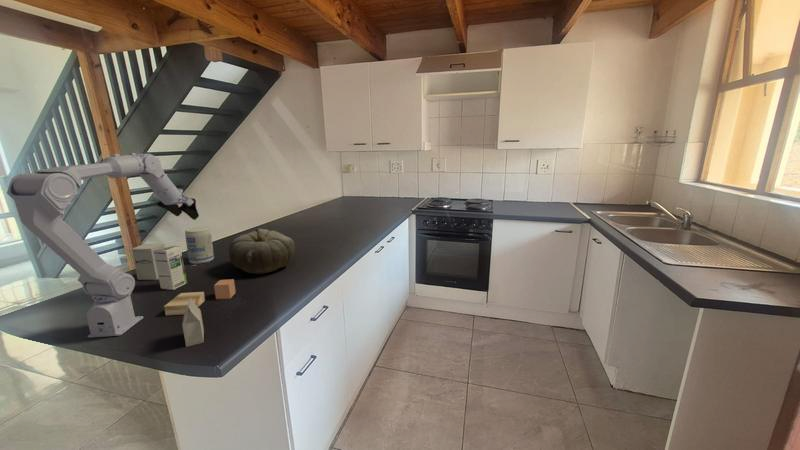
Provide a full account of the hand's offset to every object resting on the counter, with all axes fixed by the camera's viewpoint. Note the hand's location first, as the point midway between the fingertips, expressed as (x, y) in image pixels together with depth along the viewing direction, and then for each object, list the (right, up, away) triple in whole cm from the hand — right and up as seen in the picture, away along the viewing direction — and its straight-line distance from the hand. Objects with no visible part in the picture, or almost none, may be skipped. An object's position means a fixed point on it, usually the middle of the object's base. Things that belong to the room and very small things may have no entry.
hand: (187, 216), depth 110 cm
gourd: (+18, -21, +22) cm, 35 cm away
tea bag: (+21, -33, -28) cm, 48 cm away
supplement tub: (-14, -19, +30) cm, 39 cm away
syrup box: (-7, -26, +4) cm, 27 cm away
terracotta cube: (+16, -27, -4) cm, 32 cm away
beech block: (+8, -29, -12) cm, 32 cm away
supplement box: (-22, -24, +13) cm, 34 cm away
